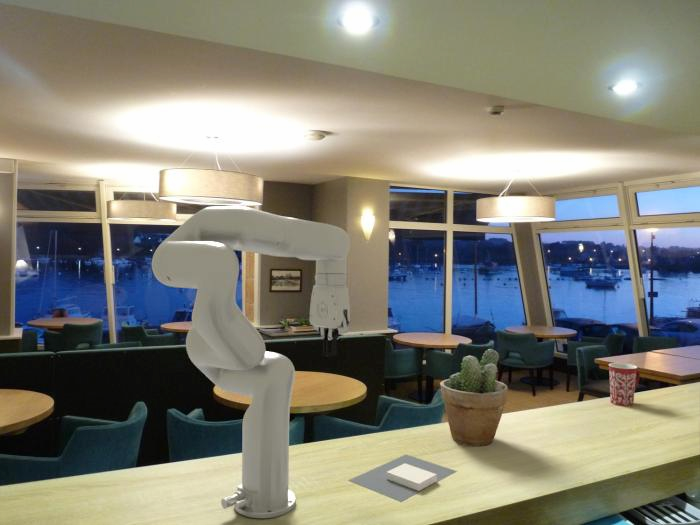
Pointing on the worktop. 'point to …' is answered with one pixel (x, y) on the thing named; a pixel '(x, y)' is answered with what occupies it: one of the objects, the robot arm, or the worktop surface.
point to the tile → (411, 476)
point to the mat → (391, 489)
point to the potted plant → (474, 400)
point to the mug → (623, 383)
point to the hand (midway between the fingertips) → (329, 355)
